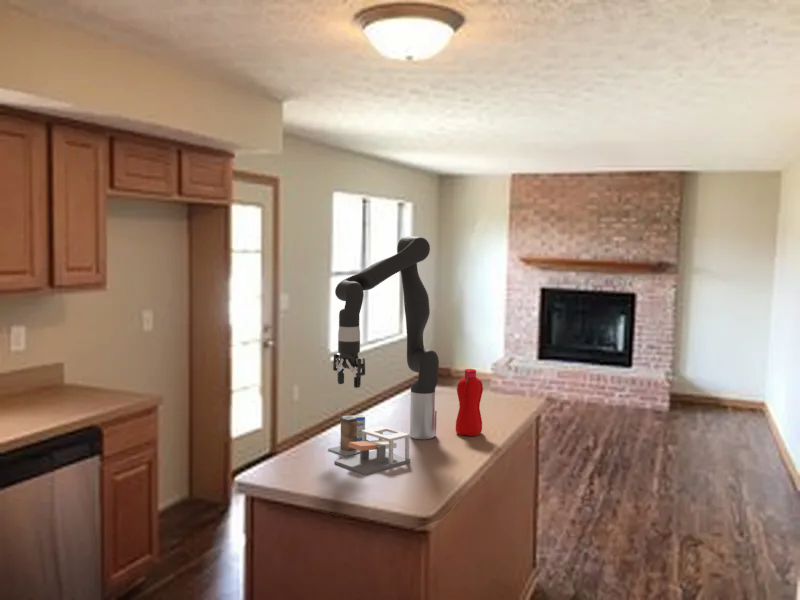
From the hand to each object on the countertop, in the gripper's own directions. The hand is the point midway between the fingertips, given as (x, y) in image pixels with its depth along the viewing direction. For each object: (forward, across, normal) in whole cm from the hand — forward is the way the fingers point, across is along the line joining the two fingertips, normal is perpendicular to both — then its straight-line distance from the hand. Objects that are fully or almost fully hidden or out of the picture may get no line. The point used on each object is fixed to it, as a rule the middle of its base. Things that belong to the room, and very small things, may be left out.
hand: (348, 385), depth 247 cm
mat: (+23, 0, 0) cm, 23 cm away
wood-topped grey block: (+22, 0, 0) cm, 22 cm away
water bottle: (+24, -13, -49) cm, 56 cm away
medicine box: (+23, +10, -11) cm, 28 cm away
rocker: (+17, -16, +3) cm, 23 cm away
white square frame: (+23, -16, +3) cm, 28 cm away
